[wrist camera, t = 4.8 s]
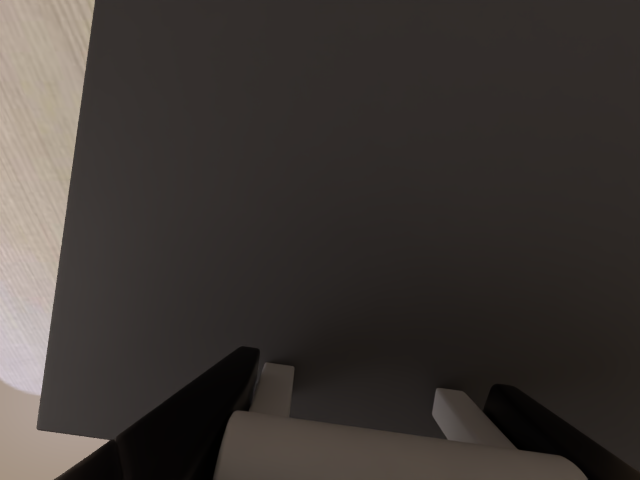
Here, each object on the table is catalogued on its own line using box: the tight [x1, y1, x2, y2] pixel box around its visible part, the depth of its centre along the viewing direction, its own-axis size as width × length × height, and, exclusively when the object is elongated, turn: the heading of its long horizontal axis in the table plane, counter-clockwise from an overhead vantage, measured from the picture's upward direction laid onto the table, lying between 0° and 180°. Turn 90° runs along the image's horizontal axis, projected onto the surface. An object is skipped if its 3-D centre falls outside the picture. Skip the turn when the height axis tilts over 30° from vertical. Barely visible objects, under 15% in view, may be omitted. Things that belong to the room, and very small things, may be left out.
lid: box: [37, 0, 640, 480], centre depth 7 cm, size 13×15×5 cm
